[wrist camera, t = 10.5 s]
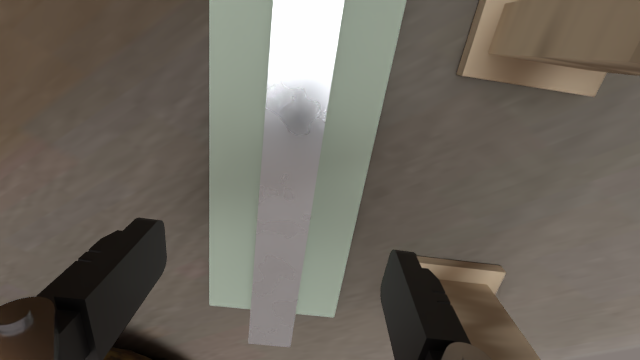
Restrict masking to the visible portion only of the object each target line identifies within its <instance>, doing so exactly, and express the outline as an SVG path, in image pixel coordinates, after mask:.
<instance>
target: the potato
mask: <svg viewBox="0 0 640 360" xmlns="http://www.w3.org/2000/svg"><path fill="white" fill-rule="evenodd" d="M103 360H152V359H150V358H148V357H146V356H143V355H140V354H138V353H135V352H133V351H132V350H128V349H118V348H113V347H111V349H110V350H109V352H108V353H107V355H106V356H105V358H104V359H103Z"/></svg>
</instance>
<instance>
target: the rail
mask: <svg viewBox="0 0 640 360" xmlns="http://www.w3.org/2000/svg"><path fill="white" fill-rule="evenodd" d="M343 5H344V0H273V12H272V26H271V39H270V53H269V67H268V80H267V94H266V107H265V121H264V135H263V148H262V162H261V175H260V189H259V203H258V216H257V230H256V243H255V257H254V271H253V284H252V298H251V311H250V325H249V339H248V343H249V344H260V345H271V346H282V347H290V346H291V339H292V333H293V327H294V320H295V314H296V307H297V301H298V294H299V288H300V282H301V275H302V269H303V262H304V256H305V249H306V243H307V237H308V230H309V224H310V217H311V211H312V204H313V198H314V192H315V185H316V179H317V172H318V166H319V159H320V153H321V147H322V140H323V134H324V127H325V121H326V114H327V108H328V102H329V95H330V89H331V82H332V76H333V69H334V63H335V57H336V50H337V44H338V37H339V31H340V24H341V18H342V12H343Z"/></svg>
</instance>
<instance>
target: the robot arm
mask: <svg viewBox="0 0 640 360" xmlns="http://www.w3.org/2000/svg"><path fill="white" fill-rule="evenodd" d="M166 259H167V255H166V242H165V229H164V223H163V221H161V220H153V219H145V218H136V219H135V220H134V221H133V222H132V223H131V224H129V225H128V226H127V227H126V228H125V229H124V230H123V231H119V230H117V231H115V232H113V233H111V234H109V235H107V236H105V237H103V238H101V239H100V240H99V241H98V242H97V243H96V244H94V245H93V246H92V247H91V248H90V249H89V251H88V252H85V253H84V254H83V255H82V256H81V257H80V258H79V260H78V261H75V262H74V263H73V264H72V265H71V266H70V267H69V268H67V269H66V270H65V271H64V272H63V273H62V274H61V275H60V276H58V277H57V278H56V279H55V280H54V281H53V282H52V283H50V284H49V285H48V286H47V287H46V288H45V289H44V290H43V291H41V292H40V293H39V294H38V295H37V296H36V297H26V298H21V299H17V300H14V301H11V302H8V303H6V304H3V305H1V306H0V360H103V359H104V358H105V356H106V355H107V353H108V352H109V350H110V349H111V347H112V346H113V345H114V343H115V342H116V340H117V339H118V337H119V336H120V334H121V333H122V331H123V330H124V329H125V327H126V326H127V324H128V323H129V321H130V320H131V318H132V317H133V316H134V314H135V313H136V311H137V310H138V308H139V307H140V305H141V304H142V303H143V301H144V300H145V298H146V297H147V295H148V294H149V292H150V291H151V289H152V288H153V287H154V285H155V284H156V282H157V281H158V279H159V278H160V276H161V275H162V273H163V271H164V268H165V265H166ZM381 302H382V307H383V311H384V315H385V320H386V324H387V328H388V333H389V337H390V341H391V346H392V350H393V354H394V359H395V360H492V359H491V358H490V357H489V356H488V355H487V354H486V353H485V352H483V351H482V350H480V349H479V348H477V347H475V346H473V345H471V343H470V341H469V339H468V337H467V335H466V333H465V331H464V328H463V326H462V324H461V322H460V320H459V318H458V316H457V314H456V312H455V310H454V308H453V306H452V305H450V300H449V298H448V296H447V294H445V290H444V288H443V286H442V284H441V282H440V280H439V279H438V278H437V277H436V276H435V275H434V274H433V273H432V272H431V271H430V270H429V269H428V268H422V267H421V265H420V263H419V260H418V258H417V256H416V254H415V253H414V252H408V251H399V250H392V251H391V253H390V256H389V259H388V263H387V266H386V270H385V273H384V276H383V280H382V283H381Z"/></svg>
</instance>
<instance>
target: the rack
mask: <svg viewBox="0 0 640 360" xmlns="http://www.w3.org/2000/svg"><path fill="white" fill-rule="evenodd" d="M607 72H608V73H618V74H628V75H638V76H640V0H479V3H478V6H477V10H476V13H475V16H474V19H473V22H472V26H471V29H470V32H469V35H468V38H467V42H466V45H465V48H464V51H463V54H462V57H461V61H460V64H459V67H458V70H457V73H456V75H461V76H467V77H473V78H479V79H485V80H492V81H498V82H504V83H510V84H517V85H523V86H529V87H535V88H542V89H548V90H554V91H560V92H567V93H573V94H579V95H585V96H592V97H595V95H596V93H597V91H598V89H599V87H600V85H601V83H602V81H603V79H604V77H605V75H606V73H607ZM417 258H418V260H419V263H420V265H421V267H422V268H428V269H429V270H430V271H431V272H432V273H433V274H434V275H435V276H436V277H437V278H438V279H439V280H440V282H441V284H442V286H443V288H444V290H445V294H447V296H448V298H449V300H450V305H452V306H453V308H454V310H455V312H456V314H457V316H458V318H459V320H460V322H461V324H462V326H463V328H464V331H465V333H466V335H467V337H468V339H469V341H470V343H471V345H473V346H475V347H477V348H479V349H480V350H482V351H483V352H485V353H486V354H487V355H488V356H489V357H490V358H491V359H492V360H540V358H539V357H538V355H537V354H536V353H535V351H534V350H533V348H532V347H531V345H530V344H529V343H528V341H527V340H526V338H525V337H524V336H523V334H522V333H521V331H520V330H519V329H518V327H517V326H516V324H515V323H514V322H513V320H512V319H511V317H510V316H509V315H508V313H507V312H506V310H505V309H504V307H503V306H502V305H501V303H500V302H499V300H498V299H497V298H496V296H495V294H496V292H497V290H498V288H499V286H500V284H501V282H502V280H503V278H504V276H505V274H506V272H505V271H504V269H503V268H502V267H501V266H499V265H491V264H482V263H473V262H465V261H456V260H447V259H439V258H430V257H421V256H417Z"/></svg>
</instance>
